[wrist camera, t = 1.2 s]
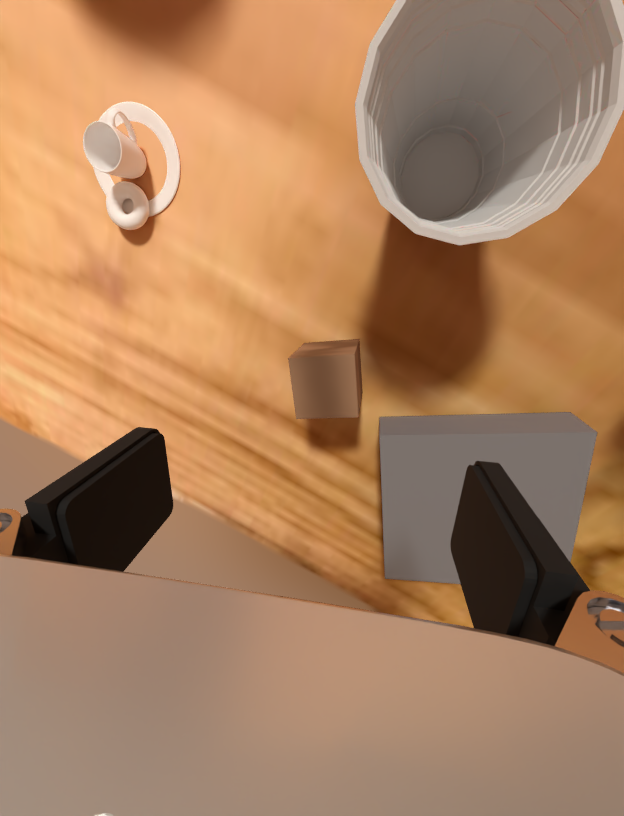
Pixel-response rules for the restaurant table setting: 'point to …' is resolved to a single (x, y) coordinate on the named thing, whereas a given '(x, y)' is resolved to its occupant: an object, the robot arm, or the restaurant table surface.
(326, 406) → the walnut block
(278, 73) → the restaurant table surface
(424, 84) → the plastic cup
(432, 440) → the grey square slab
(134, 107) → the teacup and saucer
